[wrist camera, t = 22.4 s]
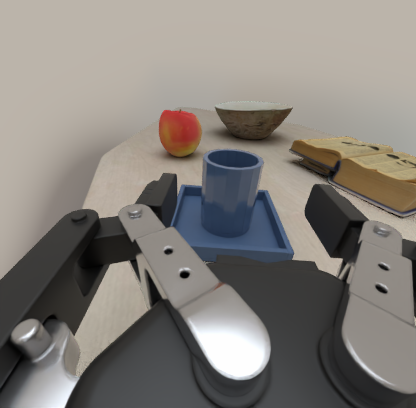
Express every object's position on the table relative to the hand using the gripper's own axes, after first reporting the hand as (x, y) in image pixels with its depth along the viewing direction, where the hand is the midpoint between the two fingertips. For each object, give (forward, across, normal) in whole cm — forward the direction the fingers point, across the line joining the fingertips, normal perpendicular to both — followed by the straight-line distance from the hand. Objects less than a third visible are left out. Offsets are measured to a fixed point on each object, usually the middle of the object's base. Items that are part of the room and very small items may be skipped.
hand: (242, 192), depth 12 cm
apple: (+37, +10, +11) cm, 39 cm away
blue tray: (+11, 0, +10) cm, 15 cm away
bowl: (+61, -9, +11) cm, 62 cm away
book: (+30, -28, +11) cm, 42 cm away
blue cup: (+11, 0, +10) cm, 15 cm away
